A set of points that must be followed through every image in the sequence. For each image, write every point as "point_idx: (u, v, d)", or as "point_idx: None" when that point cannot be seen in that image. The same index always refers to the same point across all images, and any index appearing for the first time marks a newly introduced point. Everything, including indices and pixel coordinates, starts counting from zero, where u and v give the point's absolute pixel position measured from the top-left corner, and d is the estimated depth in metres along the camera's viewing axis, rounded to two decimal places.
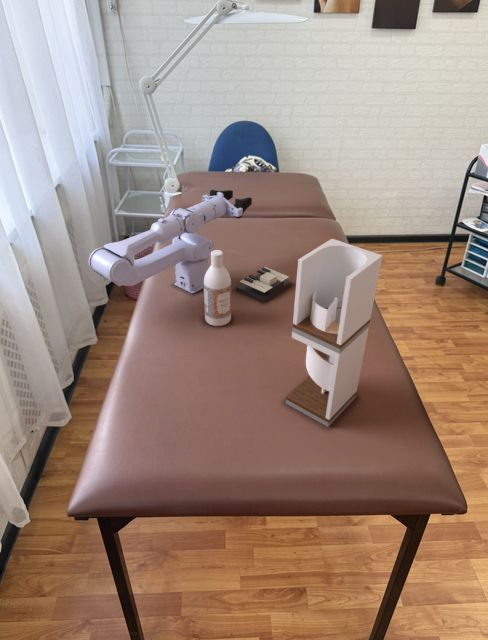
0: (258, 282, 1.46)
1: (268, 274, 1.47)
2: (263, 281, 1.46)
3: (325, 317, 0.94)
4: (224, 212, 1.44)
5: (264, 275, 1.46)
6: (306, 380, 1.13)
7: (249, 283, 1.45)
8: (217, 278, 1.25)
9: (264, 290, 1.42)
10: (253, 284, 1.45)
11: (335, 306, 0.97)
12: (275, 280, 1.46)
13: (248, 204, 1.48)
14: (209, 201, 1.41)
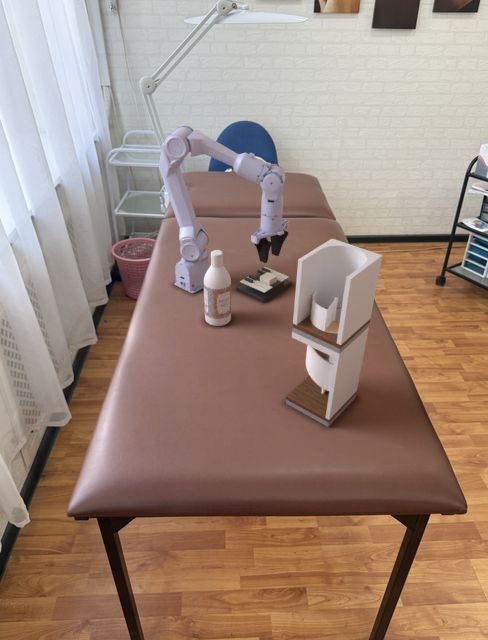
0: (258, 282, 1.46)
1: (268, 274, 1.47)
2: (263, 281, 1.46)
3: (325, 317, 0.94)
4: (262, 227, 1.36)
5: (264, 275, 1.46)
6: (306, 380, 1.13)
7: (249, 283, 1.45)
8: (217, 278, 1.25)
9: (264, 290, 1.42)
10: (253, 284, 1.45)
11: (335, 305, 0.97)
12: (275, 280, 1.46)
13: (261, 256, 1.40)
14: (279, 216, 1.34)
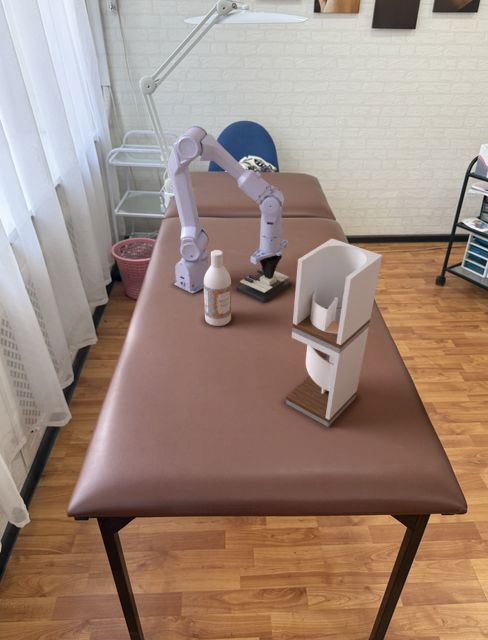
0: (258, 282, 1.46)
1: None
2: (263, 282, 1.46)
3: (325, 317, 0.94)
4: (261, 248, 1.39)
5: (264, 276, 1.46)
6: (306, 380, 1.13)
7: (249, 283, 1.45)
8: (217, 278, 1.25)
9: (264, 290, 1.42)
10: (253, 284, 1.45)
11: (335, 305, 0.97)
12: (275, 281, 1.47)
13: (265, 272, 1.45)
14: (278, 237, 1.37)
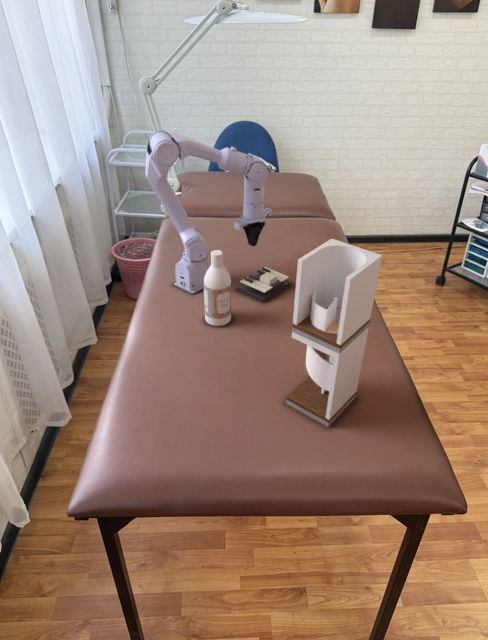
0: (258, 282, 1.46)
1: (268, 274, 1.47)
2: (263, 281, 1.46)
3: (325, 317, 0.94)
4: (245, 214, 1.43)
5: (264, 275, 1.46)
6: (306, 380, 1.13)
7: (249, 283, 1.45)
8: (217, 278, 1.25)
9: (264, 290, 1.42)
10: (253, 284, 1.45)
11: (335, 305, 0.97)
12: (275, 280, 1.46)
13: (249, 240, 1.49)
14: (261, 204, 1.41)
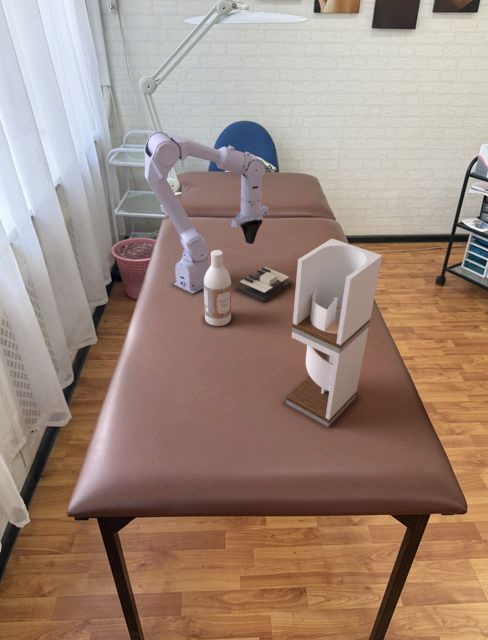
0: (258, 282, 1.46)
1: (268, 274, 1.47)
2: (263, 281, 1.46)
3: (325, 317, 0.94)
4: (242, 212, 1.44)
5: (264, 275, 1.46)
6: (306, 380, 1.13)
7: (249, 283, 1.45)
8: (217, 278, 1.25)
9: (264, 290, 1.42)
10: (253, 284, 1.45)
11: (335, 305, 0.97)
12: (275, 280, 1.46)
13: (247, 238, 1.50)
14: (258, 202, 1.42)
